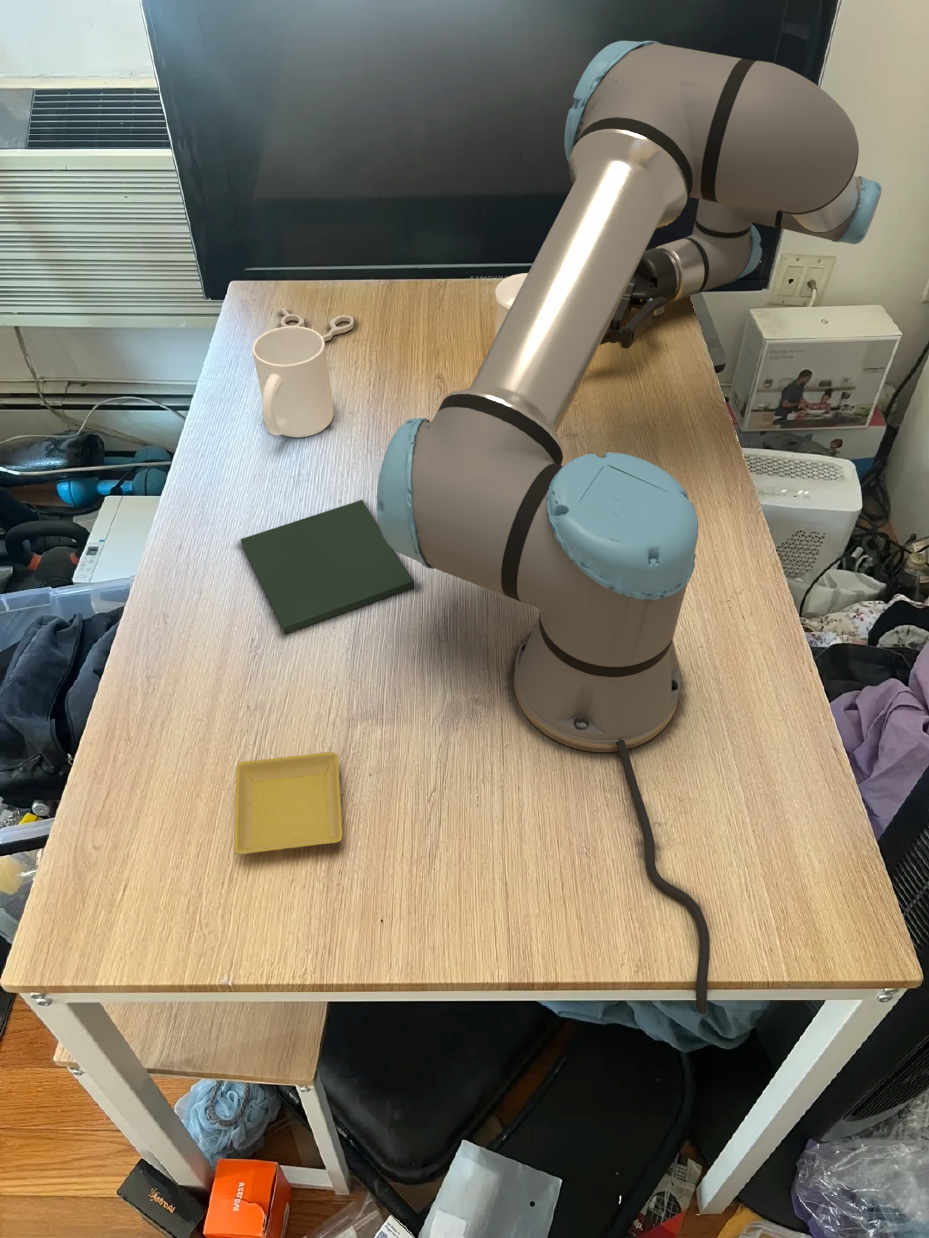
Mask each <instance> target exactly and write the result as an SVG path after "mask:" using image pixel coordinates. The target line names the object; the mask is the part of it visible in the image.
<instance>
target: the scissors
mask: <svg viewBox="0 0 929 1238" xmlns="http://www.w3.org/2000/svg"><path fill="white" fill-rule="evenodd" d="M280 312H281V315H283V316H282V317H281V318H280V327H288V326H291V325H288V324H287V322H290V321H297V322H298V323H296V324H294V325H293V326H299V327H305V326H306V325H305V320H304V318H303V317H302V316H301V315H299V314H295V313H289V312H288V311H287V308H286V307H281V308H280ZM341 322H348V324H347V325H344V326H337V325H338V324H339V323H341ZM328 326H329V328H330V330H329V332H327V333H325V334H324V335H321V336H322V338H323V339H324V342H328V341H330V340H332V339H333V337H334V336H335V335H340V334H345V333H347V332H348V331H351V330H352V329H353V328H354V326H355V321H354V318H353V316H351V315H348V314H342V315H337V316H336V317H334V318H332V319H331V320H330V321H329V323H328Z"/></svg>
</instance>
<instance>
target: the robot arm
mask: <svg viewBox="0 0 929 1238" xmlns="http://www.w3.org/2000/svg"><path fill="white" fill-rule="evenodd" d="M572 99H573V104H572V107H571V108H570V109H569V110H568V112H567V116H566V121H565V128H564V152H565V157H566V160H567V163H568V170H569V171H568V173H569V176H570V180H571V183H572V187H571V189H570V191H569V193H568V195H567V196H566V199H565V200H564V202H563V204H562V206H561V208H560V210H559V212H558V214H557V216H556V218H555V219H554V222H553V224H552V226H551V228H550V229H549V231H548V234H547V235H546V237H545V239H544V241H543V243H542V246H541V247H540V248H539V251H538V253H537V255H536V257H535V259H534V261H533V262H532V265H531V267H530V269H529V271H528V272H527V273H528V275H527V277H526V278H525V280H524V282H523V284H522V286H521V288H520V290H519V292H518V294H517V296H516V298H515V300H514V302H513V304H512V306H511V308H510V310H509V312H508V314H507V316H506V318H505V320H504V321H503V323H502V325H501V327H500V329H499V331H498V333H497V335H496V337H495V336H494V339H493V341H492V343H491V345H490V347H489V349H488V351H487V353H486V354H485V357H484V359H483V361H482V362H481V364H480V366H479V368H478V370H477V372H476V374H475V376H474V378H473V380H472V382H471V384H470V386H469V387H468V388H464V389H459V390H455V391H452V392H450V393H448V394H447V395H446V396H445V397H444V398H443V400H442V401H441V404H440V405H439V407H438V409H437V411H436V413H435V415H434V417H433V418H432V420H431V421H430V419H428V418H426V417H419V418H418V417H413V418H409V419H408V420H406V421H405V422H404V423H402V424H401V425H400V426H399V427H398V428H397V429H396V431H395V433H394V434H393V436H392V437H391V439H390V441H389V444H388V445H387V448H386V451H385V453H384V455H383V456H384V457H383V460H382V463H381V466H380V471H379V474H378V481H377V489H376V516H377V522H378V526H379V527H380V530H381V533H382V535H383V537H384V539H385V541H386V542H387V544H388V545H389V546H390V547H391V548H392V549H394V551H395V552H396V553H398V554H400V555H403V556H405V557H407V558H409V559H411V560H414V561H416V562H419V563H420V564H421V565H422V566H423V567H424V568H426V569H432V570H433V569H436V570H438V571H441V572H443V573H446V574H448V575H451V576H453V577H456V578H459V579H461V580H464V581H467V582H469V583H471V584H474V585H477V586H479V587H482V588H485V589H487V590H489V591H492V592H495V593H497V594H501V595H502V596H505V597H508V598H511V599H513V600H515V601H518V602H521V603H523V604H526V605H529V606H531V607H534V608H536V609H538V610H539V615H538V617H537V619H536V621H535V622H534V624H533V626H532V628H531V630H530V631H529V633H528V634H527V636H526V637H525V638H524V640H523V641H522V643H521V645H520V647H519V648H518V650H517V654H516V657H515V663H514V679H513V683H514V684H513V685H514V691H515V692H514V693H515V696H516V699H517V702H518V704H519V706H520V708H521V710H522V711H523V713H524V715H525V716H526V718H527V719H528V720H529V721H530V722H531V724H532V725H533V726H534V727H536V729H538V730H539V731H540V732H541V733H543V734H544V735H546V736H547V737H549V738H551V739H552V740H554V741H556V742H558V743H560V744H563V745H564V746H567V747H570V748H573V749H577V750H581V751H586V752H592V753H593V752H595V753H614V752H618V755H619V758H620V761H621V764H622V768H623V771H624V775H625V778H626V781H627V786H628V788H629V791H630V794H631V798H632V801H633V804H634V807H635V810H636V813H637V817H638V820H639V824H640V827H641V831H642V836H643V841H644V864H645V867H646V872H647V874H648V876H649V878H650V879H651V881H652V882H653V883H654V885H655V886H657V888H659V889H660V890H661V891H663V892H664V893H666V894H667V895H669V896H671V897H673V898H674V899H676V900H678V901H680V902H681V903H682V904H684V905H685V906H686V907H687V908H688V909H689V911H690V913H691V915H692V917H693V919H694V922H695V925H696V929H697V935H698V960H697V969H696V981H695V982H696V985H695V1006H696V1010H697V1011H698V1013H699V1014H701V1015H704V1014H706V1013H707V1010H708V978H709V966H710V955H711V953H710V952H711V946H710V945H711V941H710V933H709V928H708V924H707V921H706V919H705V916H704V913H703V911H702V909H701V908H700V906H699V904H698V903H697V902H696V901H695V900H694V898H692V897H691V896H690V895H689V894H688V893H686V892H684V891H683V890H681V889H680V888H678V887H676V886H675V885H673V884H670V883H669V882H668V881H667V880H665V879H664V878H663V877H662V876H661V875H660V873H659V871H658V869H657V867H656V859H655V858H656V857H655V856H656V855H655V853H656V847H655V846H656V845H655V839H654V838H655V837H654V833H653V830H652V826H651V823H650V820H649V816H648V811H647V809H646V806H645V803H644V800H643V796H642V794H641V791H640V787H639V784H638V781H637V777H636V775H635V771H634V767H633V765H632V761H631V758H630V755H629V751H628V750H630V749H633V748H636V747H639V746H641V745H643V744H645V743H647V742H649V741H650V740H652V739H653V738H656V737H657V736H658V735H659V734H660V733H661V732H662V731H663V730H664V729H665V728H666V727H667V726H668V724H669V723H670V722H671V719H672V718H673V716H674V714H675V711H676V708H677V705H678V702H679V698H680V694H681V690H682V674H681V669H680V664H679V659H678V656H677V652H676V647H675V642H674V636H675V633H676V628H677V624H678V620H679V617H680V613H681V609H682V606H683V601H684V597H685V594H686V591H687V587H688V583H689V582H690V580H691V577H692V575H693V573H694V571H695V567H696V556H697V554H696V549H697V543H698V538H699V517H698V514H697V513H698V512H697V509H696V507H695V505H694V504H693V502H692V501H691V500H690V499H689V494H688V493H687V491H686V489H685V488H684V487H683V485H681V483H679V481H678V480H677V479H676V478H675V477H674V476H672V475H671V474H670V473H669V472H667V470H666V471H665V470H664V469H663V468H661V467H659V466H658V465H656V464H654V463H652V462H650V461H648V460H646V459H643V458H640V457H638V456H635V455H631V454H626V453H621V452H613V451H611V452H610V451H609V452H608V451H607V452H605V453H604V454H603V456H602V457H600V456H599V455H597V454H596V453H595V452H594V453H593V452H592V453H587V454H584V455H581V456H577V457H576V458H574V459H572V460H570V461H568V462H567V463H565V464H564V465H562V464H563V461H564V458H565V450H564V449H565V448H564V446H563V444H562V442H561V439H560V437H559V435H558V432H559V430H560V427H561V425H562V423H563V421H564V420H565V418H566V415H567V414H568V411H569V409H570V407H571V405H572V403H573V401H574V398H575V396H576V395H577V393H578V391H579V388H580V386H581V384H582V382H583V380H584V378H585V376H586V374H587V372H588V369H589V368H590V366H591V364H592V362H593V359H594V357H595V356H596V353H597V351H598V349H599V347H600V346H601V345H604V344H607V343H610V344H616V343H619V344H620V347H621V348H622V349H630V348H631V346H633V344H634V343H635V342H636V341H638V339H639V338H640V337H641V336H642V335H643V334H644V332H645V331H646V330H647V329H648V328H649V327H650V326H651V325H652V323H654V322H656V321H658V320H660V319H662V318H663V317H664V312H665V306H666V305H668V304H669V303H674V302H676V301H677V302H678V301H679V300H682V299H684V298H688V297H690V296H693V295H697V294H700V293H702V292H705V291H709V290H711V289H714V288H718V287H720V286H723V285H724V286H725V285H728V284H731V283H734V282H736V281H737V280H739V279H742V278H743V277H745V276H747V275H749V274H750V273H752V272H754V271H755V269H756V268H757V266H758V265H759V263H760V261H761V258H762V253H763V248H761V247H762V246H761V241H762V238H761V235H760V233H759V231H758V229H757V228H756V226H754V225H753V224H758V225H764V226H768V227H772V228H777V229H780V230H782V229H783V230H786V231H791V232H795V233H798V234H804V235H808V236H812V237H816V238H820V239H824V240H827V241H831V242H833V243H845V244H851V245H857V244H860V243H861V242H862V241H864V239H865V238H866V236H867V234H868V232H869V229H870V226H871V224H872V223H873V222H872V221H873V220H874V216H875V213H876V211H877V207H878V205H879V202H880V199H881V196H882V185H881V183H880V182H879V181H876V180H872V179H867V178H865V177H864V176H862V175H860V176H859V175H858V176H855V173H856V170H857V166H858V162H859V155H860V154H859V153H860V151H859V148H860V147H859V139H858V134H857V131H856V128H855V125H854V124H853V122H852V121H851V118H850V117H849V116H848V114H847V112H846V111H845V110H844V108H842V106H841V105H840V104H839V103H838V102H837V101H836V100H835V99H834V98H833V97H832V96H831V95H829V94H828V92H827V91H824V89H822V88H821V87H819V86H818V85H817V84H816V83H815V82H812V80H809V79H808V78H807V77H805V76H803V75H801V74H799V73H798V72H795V71H793V70H791V69H790V68H788V67H785V66H782V65H779V64H776V63H774V62H769V61H762V60H753V59H746V58H741V57H734V56H730V55H725V54H718V53H714V52H707V51H702V50H697V49H692V48H685V47H680V46H675V45H669V44H664V43H662V42H661V41H660V42H659V41H654V40H643V41H635V40H633V41H632V40H619V41H615V42H613V43H609V44H608V45H606V46H605V47H604V48H603V49H601V50H600V51H599V52H598V53H597V54H596V55H595V56H594V57H593V58H592V60H591V61H590V62H589V64H588V65H587V67H586V69H585V70H584V71H583V73H582V75H581V77H580V79H579V81H578V83H577V85H576V88H575V90H574V93H573V96H572ZM689 198H693V199H696V200H698V204H697V209H696V216H695V221H694V224H693V230H692V234H691V235H689V236H686V237H683V238H680V239H677V240H674V241H671V242H668V243H667V242H666V243H664V244H662V245H658V246H656V247H653V248H650V249H647V247H648V245H649V244H650V241H651V239H652V238H653V235H654V234H655V231H656V229H660V228H663V227H666V226H669V224H671V223H673V222H674V221H675V220H677V219H678V218H679V216H680V215H681V214H682V212H683V210H684V209H685V206H686V205H687V202H688V200H689ZM632 309H637V310H638V311H637V312H636V313H635V314H634V315H633V316H632V318H631V319H630V320H629V321H628V322H627V323H626V321H627V319H628V318H629V316H630V313H631V311H632ZM625 323H626V324H625Z"/></svg>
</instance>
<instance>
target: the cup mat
mask: <svg viewBox="0 0 929 1238" xmlns="http://www.w3.org/2000/svg"><path fill="white" fill-rule="evenodd" d="M240 543H241V546H242V549H243V550H244V552H245V554H246V556H247V559H248V561H249V562H250V565H251V567H252V569H253V571H254V573H255V575H256V578H257V579H258V582H259V584H260V585H261V587H262V590H263V592H264V594H265V596H266V598H267V600H268V602H269V604H270V606H271V608H272V610H273V612H274V614H275V616H276V618H277V621H278V623H279V625H280V626H281V629H282V631H283V633H284V634H289V633H291V632H292V633H293V632H295V631H297V630H300V629H302V628H305V627H309V626H311V625H313V624H316V623H320V622H322V621H325V620H328V619H330V618H333V617H336V616H339V615H341V614H345V613H347V612H350V611H353V610H355V609H358V608H361V607H363V606H367V605H369V604H372V603H375V602H378V601H381V600H383V599H386V598H388V597H391V596H394V595H397V594H400V593H403V592H406V591H408V590H411V589H413V588H415V582H414V579H413V578H412V576H411V574H410V573H409V571H408V570H407V568H406V566H405V565H404V563H403V562H402V560H401V559H400V557H399V556H398V554H397V552H396V551H395V550H394V549H392V548H391V547H390V546H389V545H388V544H387V542H386V541H385V539H384V537H383V535H382V533H381V530H380V527H379V523H377V521H376V519H375V518H374V516H373V515H372V514H371V512H370V510H369V509H368V507H367V505H366V504H365V502H364V501H363V500H362V499H359V500H357V501H354V502H350V503H348V504H344V505H341V506H339V507H334V508H332V509H329V510H326V511H323V512H319V513H316V514H313V515H310V516H308V517H304V518H301V519H298V520H295V521H291V522H289V523H286V524H283V525H280V526H277V527H273V528H271V529H268V530H267V529H266V530H264V531H260V532H258V533H255V534H252V535H249V536H246V537H243V538H241V539H240Z"/></svg>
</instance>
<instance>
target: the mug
mask: <svg viewBox="0 0 929 1238" xmlns="http://www.w3.org/2000/svg"><path fill="white" fill-rule="evenodd" d="M322 336H323V335H322V334H320V333H319V332H317V331H316V330H314V329H312V328H309V327H305V326H304V327H299V326H294V325H290V326H288V327H281V326H280V327H277V328H272V329H271V330H268V331H266V332H264V333H263V334H260V335H259V336H258V337H257V338H256V339H255V340H254V342H253V344H252V348H251V349H252V350H251V351H252V355H253V360H254V365H255V369H256V374H257V379H258V385H259V389H260V395H261V401H262V403H261V409H262V411H261V412H262V418H263V422H264V425H265V427H266V429H267V431H268V432H269V433H270V434H271V435H273V436H285V437H289V438H306V437H310V436H311V437H312V436H314V435H316V434H319V433H320V432H322V431H324V430H325V429H326V428H327V427H328V426H329V425H330V424H331V422H332V421H333V418H334V411H335V410H334V401H333V394H332V388H331V387H332V386H331V379H330V373H329V364H328V357H327V350H326V343H325V342H326V341H325V342H324V339H323V338H322Z"/></svg>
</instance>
